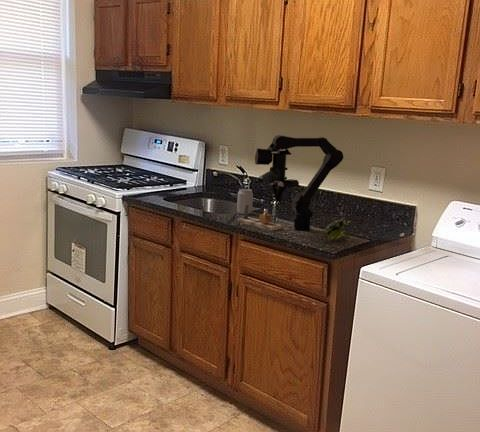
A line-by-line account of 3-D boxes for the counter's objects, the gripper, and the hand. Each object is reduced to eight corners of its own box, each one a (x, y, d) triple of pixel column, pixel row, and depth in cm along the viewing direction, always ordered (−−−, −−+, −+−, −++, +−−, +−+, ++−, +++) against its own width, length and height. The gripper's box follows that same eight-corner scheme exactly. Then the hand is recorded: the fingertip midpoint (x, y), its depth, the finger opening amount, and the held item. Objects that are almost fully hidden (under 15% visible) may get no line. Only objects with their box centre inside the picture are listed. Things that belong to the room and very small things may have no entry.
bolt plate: (282, 228, 239) (283, 210, 238) (271, 230, 234) (272, 212, 233) (247, 220, 254) (248, 203, 252) (237, 221, 249) (237, 204, 247)
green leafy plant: (331, 249, 229) (338, 224, 233) (353, 250, 221) (360, 224, 225) (317, 238, 222) (324, 212, 226) (339, 238, 214) (347, 211, 218)
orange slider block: (271, 222, 242) (271, 209, 240) (265, 223, 239) (265, 210, 237) (265, 221, 244) (266, 208, 243) (259, 222, 241) (260, 208, 240)
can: (250, 215, 264) (251, 191, 262) (235, 214, 266) (236, 189, 263) (253, 212, 272) (254, 188, 269) (238, 211, 273) (239, 187, 271)
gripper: (250, 163, 232) (248, 199, 236) (283, 168, 220) (281, 206, 223) (267, 162, 240) (265, 197, 244) (300, 167, 228) (298, 203, 231)
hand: (277, 200), depth 235 cm, fingers closed
